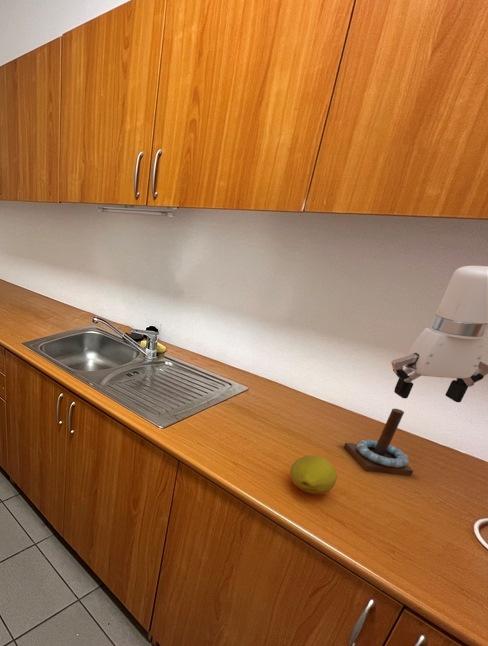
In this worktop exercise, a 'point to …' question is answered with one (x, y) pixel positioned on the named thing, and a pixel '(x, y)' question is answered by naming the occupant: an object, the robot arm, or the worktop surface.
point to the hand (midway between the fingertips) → (426, 397)
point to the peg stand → (381, 448)
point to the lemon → (313, 474)
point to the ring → (390, 462)
